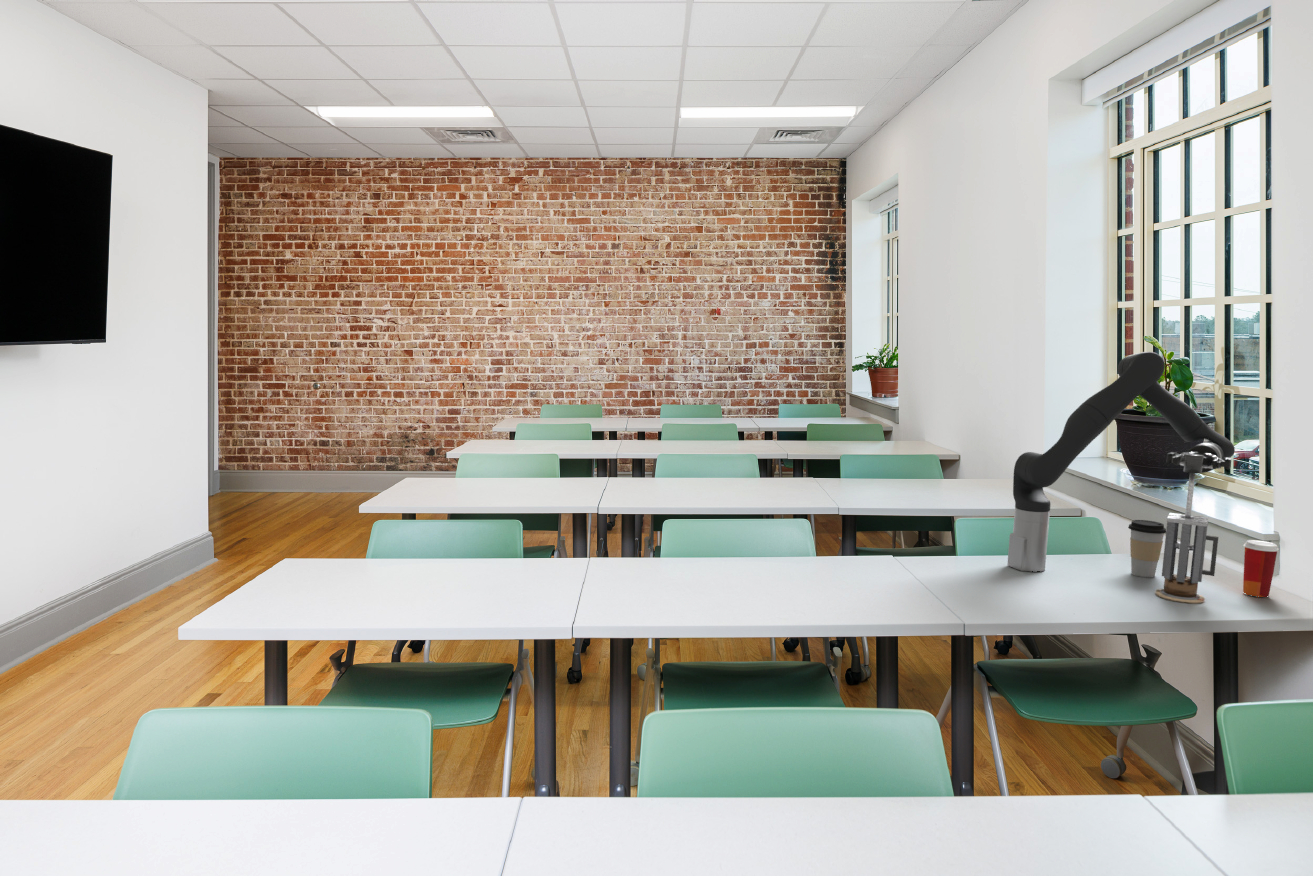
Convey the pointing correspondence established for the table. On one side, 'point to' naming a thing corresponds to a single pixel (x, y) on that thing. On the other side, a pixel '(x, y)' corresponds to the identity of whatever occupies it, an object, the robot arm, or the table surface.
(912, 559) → the table surface
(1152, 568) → the coffee cup
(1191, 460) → the plunger
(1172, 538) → the press frame
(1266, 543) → the paper cup
